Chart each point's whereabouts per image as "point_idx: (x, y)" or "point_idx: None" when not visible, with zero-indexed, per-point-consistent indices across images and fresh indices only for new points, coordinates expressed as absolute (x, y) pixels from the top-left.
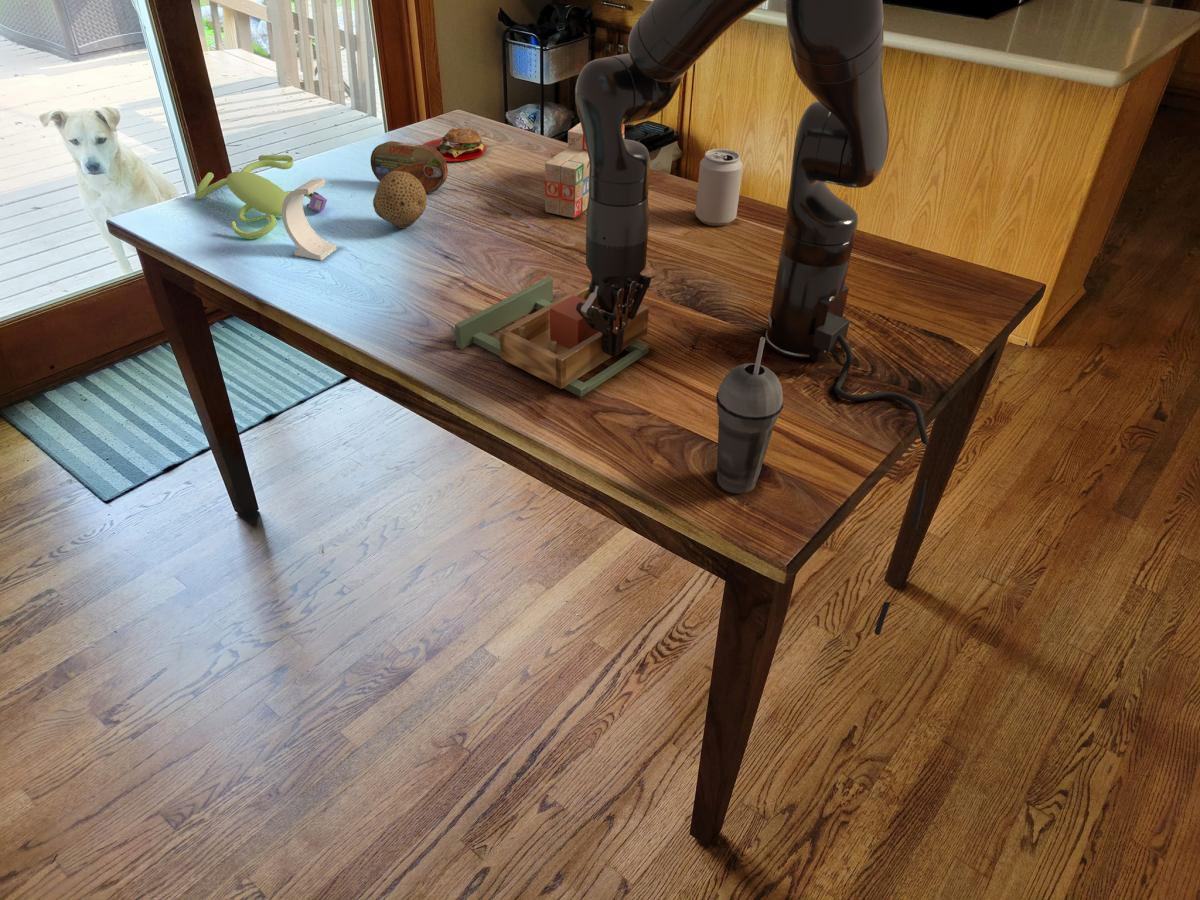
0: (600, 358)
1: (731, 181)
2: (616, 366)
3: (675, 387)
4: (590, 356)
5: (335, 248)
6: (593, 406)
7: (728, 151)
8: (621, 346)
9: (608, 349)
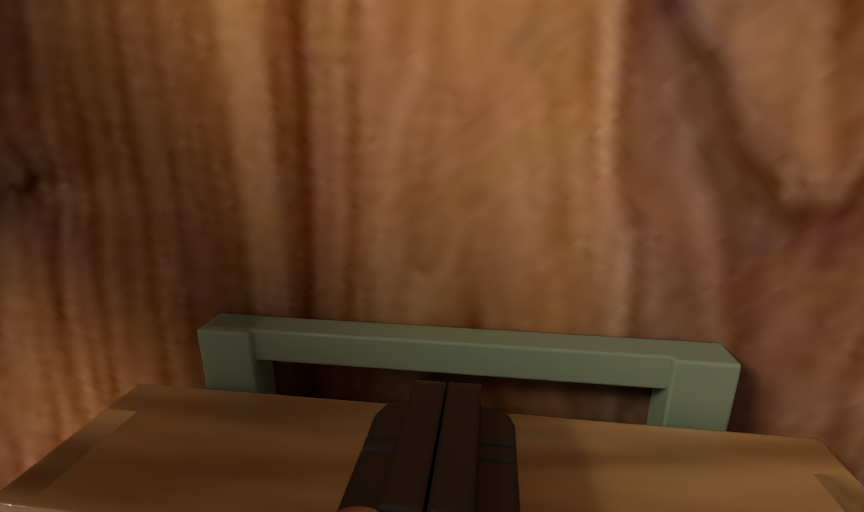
0: None
1: None
2: (436, 348)
3: (339, 30)
4: (594, 484)
5: None
6: (754, 254)
7: None
8: (416, 403)
9: (514, 445)
